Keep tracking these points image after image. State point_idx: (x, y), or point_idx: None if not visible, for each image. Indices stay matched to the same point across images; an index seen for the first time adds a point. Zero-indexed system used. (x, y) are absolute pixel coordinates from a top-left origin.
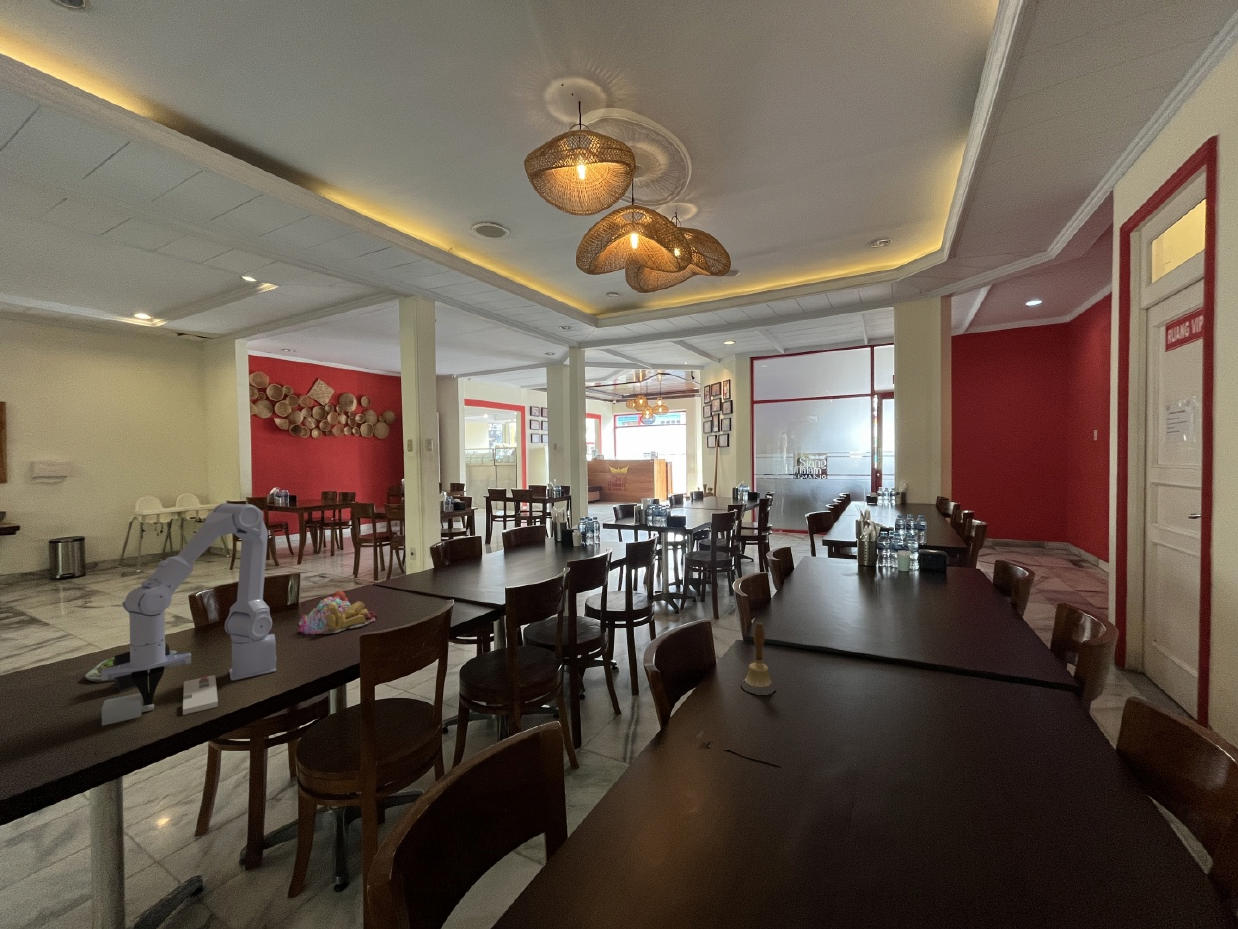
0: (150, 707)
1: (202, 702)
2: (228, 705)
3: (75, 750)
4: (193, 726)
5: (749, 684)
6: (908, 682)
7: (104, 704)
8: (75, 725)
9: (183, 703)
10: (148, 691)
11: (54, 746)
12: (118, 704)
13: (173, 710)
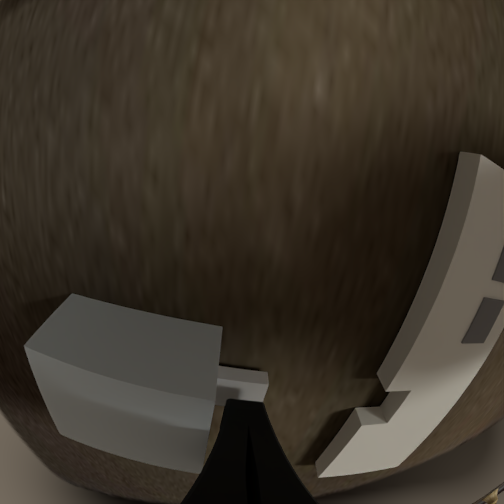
0: None
1: (376, 461)
2: None
3: (79, 450)
4: None
5: (487, 499)
6: None
7: (47, 402)
8: (6, 293)
9: (343, 450)
10: (246, 446)
11: (24, 399)
12: (111, 448)
13: (312, 426)
